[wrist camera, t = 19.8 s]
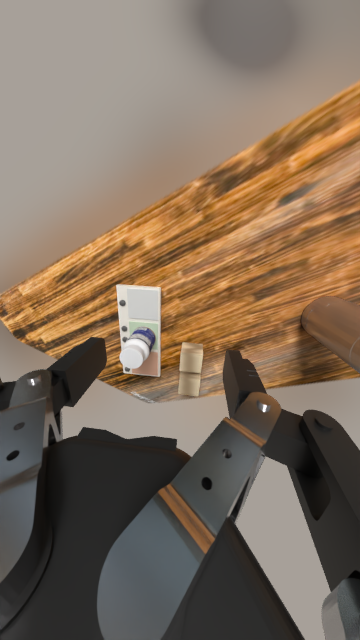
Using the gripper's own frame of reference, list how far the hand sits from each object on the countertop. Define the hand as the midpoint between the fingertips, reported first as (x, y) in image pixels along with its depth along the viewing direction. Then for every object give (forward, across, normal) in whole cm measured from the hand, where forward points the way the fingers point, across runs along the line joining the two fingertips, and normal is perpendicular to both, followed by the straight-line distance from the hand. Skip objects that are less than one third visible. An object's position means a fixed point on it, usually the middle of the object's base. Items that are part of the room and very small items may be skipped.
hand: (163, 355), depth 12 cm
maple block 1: (+30, -2, +18) cm, 35 cm away
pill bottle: (+29, +10, +14) cm, 34 cm away
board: (+30, +11, +14) cm, 35 cm away
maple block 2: (+30, -2, +25) cm, 39 cm away
